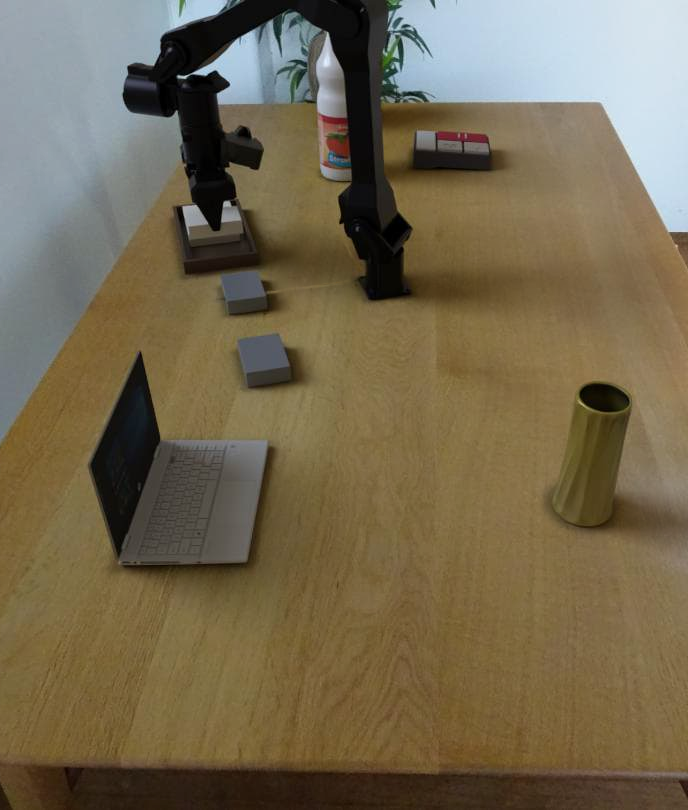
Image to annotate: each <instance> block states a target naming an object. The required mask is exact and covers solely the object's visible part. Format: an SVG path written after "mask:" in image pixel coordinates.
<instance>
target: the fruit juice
mask: <svg viewBox="0 0 688 810" xmlns="http://www.w3.org/2000/svg"><path fill="white" fill-rule="evenodd" d="M326 33H327V35H326V39H325V43H324V47H323V50H322V53H321V55H320V57H319V58H318V60H317V64H316V74H317V78H318V81H319V86H320V87H319V91H318V94H317V103H316V112H317V130H318V133H317V134H318V150H319V168H320V172H321V175H322V177H324V178H326V179H328V180H330V181H331V180H332V181H336V182H351V165H350V152H349V139H348V126H347V113H346V100H345V87H344V75H343V71H342V68H341V66H340V64H339V62H338V60H337V59H336V57H335V55H334V53H333V51H332V46H331V42H330V38H329V34H328V32H326Z"/></svg>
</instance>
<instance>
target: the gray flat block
mask: <svg viewBox="0 0 688 810" xmlns="http://www.w3.org/2000/svg"><path fill="white" fill-rule="evenodd" d="M281 338H282V337H281V335H280V332H275V333H270V334H263V335H255V336H249V337H243V338H237V339H236V343H237V349H238V355H239V360H240V363H241V366H242V371H243V375H244V379H245V382H246V383H245V384H246V387H247V388H253V387H260V386H266V385H271V384H278V383H283V382H289V381H292V371H291V365H290V362H289V358H288V356H287V353H286V350H285V347H284V344H283V341H282V339H281Z"/></svg>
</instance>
